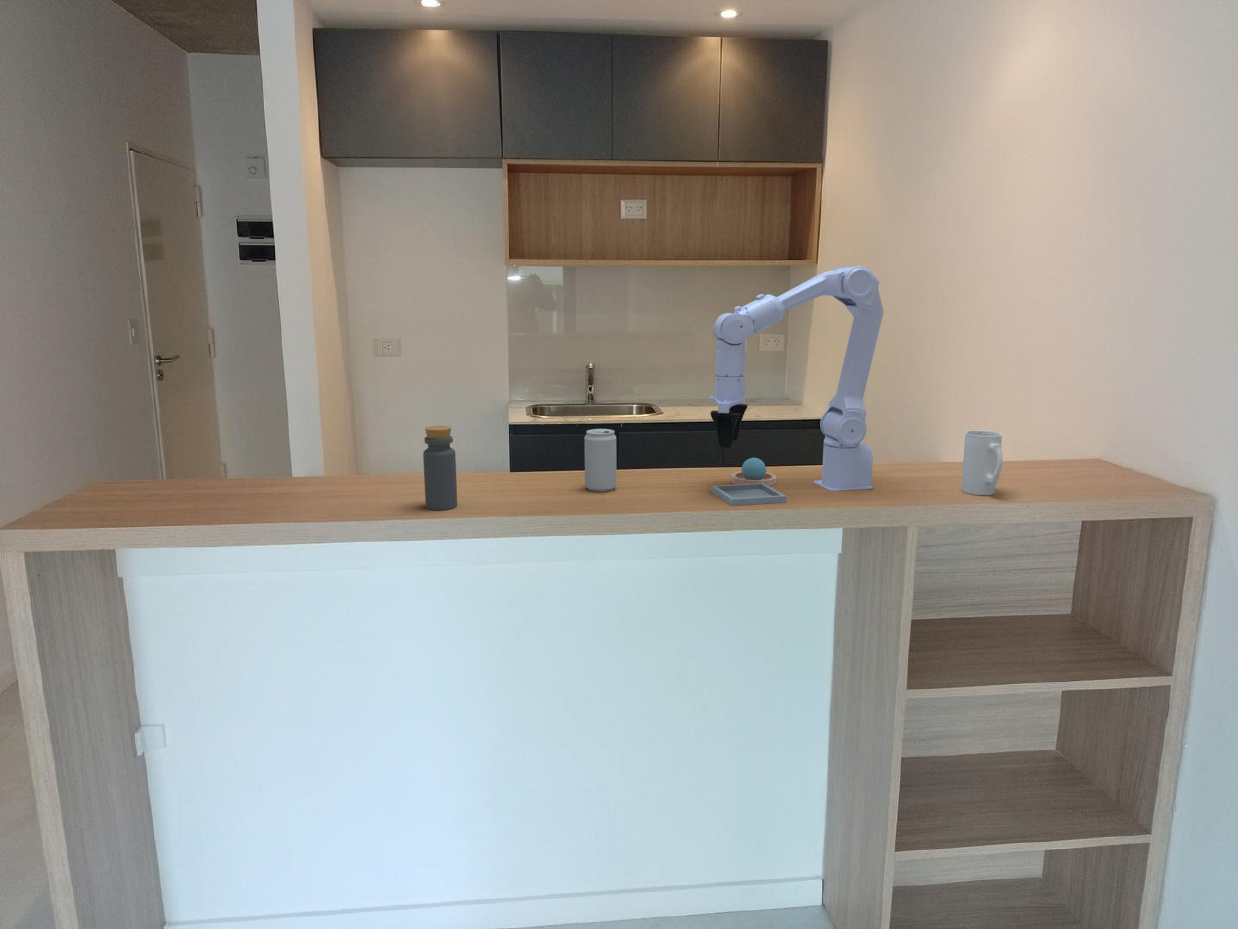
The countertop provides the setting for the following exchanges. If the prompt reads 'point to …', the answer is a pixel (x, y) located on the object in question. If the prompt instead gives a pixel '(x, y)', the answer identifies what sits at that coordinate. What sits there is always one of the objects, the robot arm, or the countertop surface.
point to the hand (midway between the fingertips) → (728, 443)
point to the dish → (740, 479)
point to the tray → (748, 494)
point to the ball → (753, 469)
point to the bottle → (439, 469)
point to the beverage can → (600, 460)
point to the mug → (981, 462)
